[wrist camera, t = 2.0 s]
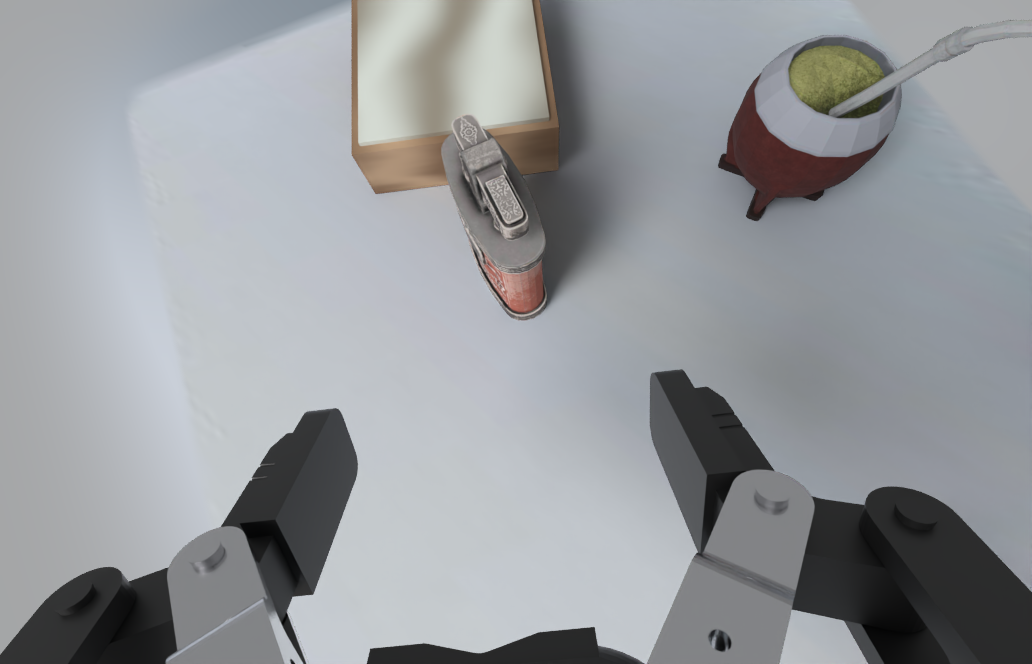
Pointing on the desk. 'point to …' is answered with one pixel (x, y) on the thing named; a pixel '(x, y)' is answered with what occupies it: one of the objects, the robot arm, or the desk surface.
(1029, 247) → the desk surface
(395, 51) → the wooden flat block
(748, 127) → the mate gourd
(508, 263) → the lighter
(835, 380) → the desk surface
